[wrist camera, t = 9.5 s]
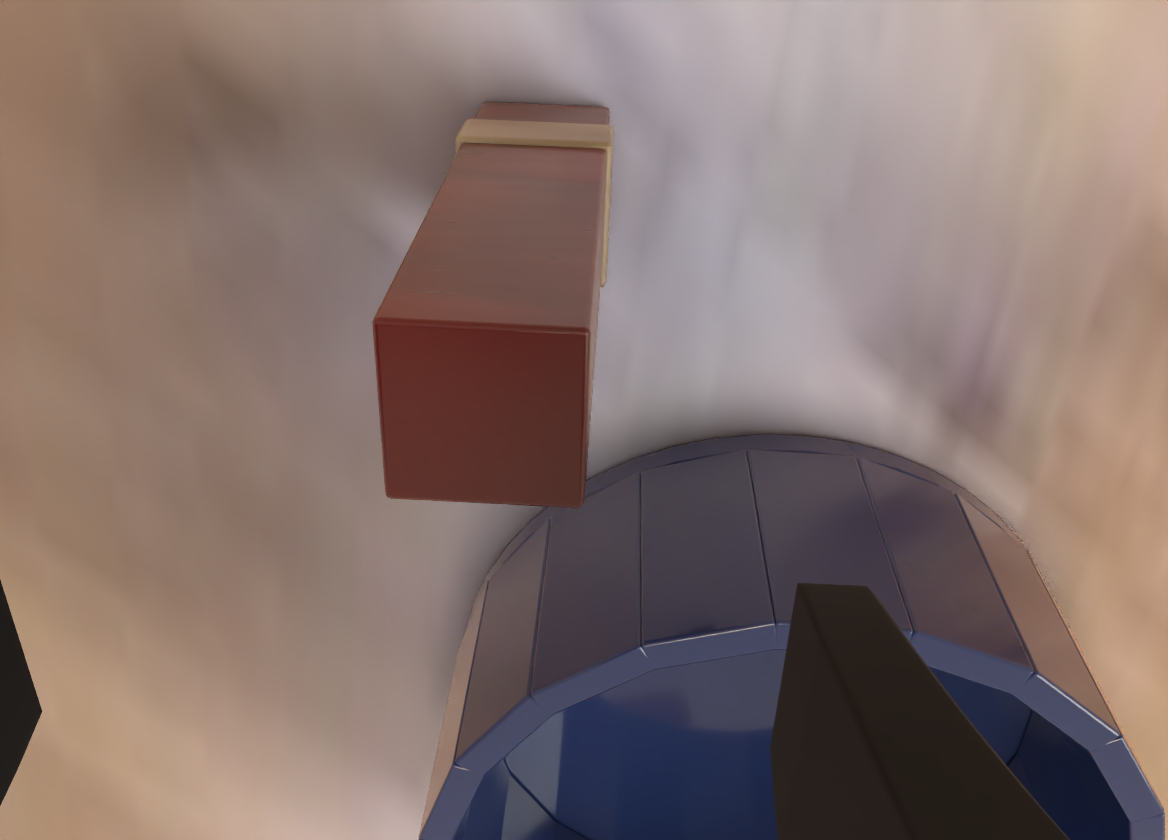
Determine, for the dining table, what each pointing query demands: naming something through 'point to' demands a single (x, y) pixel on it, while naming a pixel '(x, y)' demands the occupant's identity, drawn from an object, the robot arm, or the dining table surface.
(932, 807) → the robot arm
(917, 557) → the blue round bowl
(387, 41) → the dining table surface
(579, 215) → the dark red rectangular block
